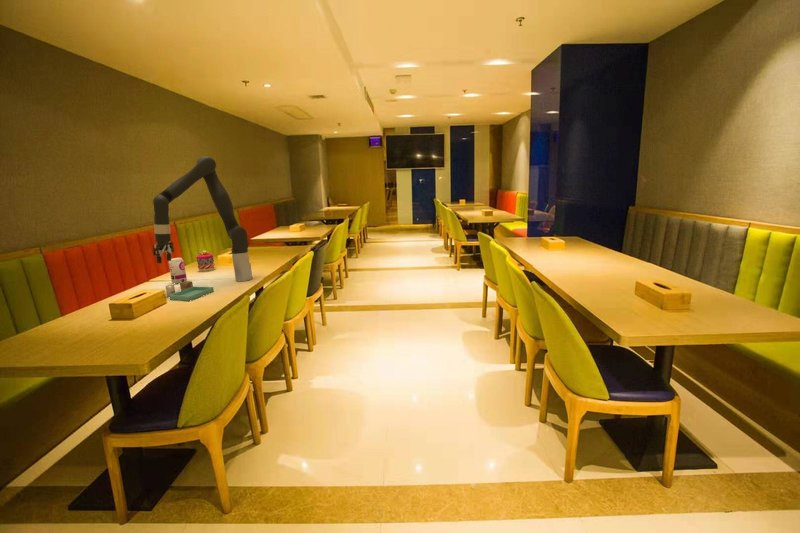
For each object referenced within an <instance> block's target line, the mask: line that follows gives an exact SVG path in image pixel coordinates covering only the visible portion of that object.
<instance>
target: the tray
mask: <svg viewBox="0 0 800 533" xmlns="http://www.w3.org/2000/svg"><path fill="white" fill-rule="evenodd" d="M214 292H215V290H214V287H213V286H212V287H211V286H195V285H193V287H191V288H188V289H185V290H183V291H181V290H180V291H178V292H175V293H174V294H171V295H169V297H170V298H169V300H170V301H177V300H185V301H184V302H191V301H190V300H192V301H194V300H196V298H197V299H199V298H198V297H200V298H201V296H202V297H204V296H203V295H205V296H207V295H209V293H210V294H211V293H214ZM206 294H207V295H206ZM193 299H194V300H193Z"/></svg>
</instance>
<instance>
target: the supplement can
mask: <svg viewBox="0 0 800 533" xmlns="http://www.w3.org/2000/svg"><path fill="white" fill-rule="evenodd" d="M167 262H168V267H169V273H170V277H171V278H170V279H171V283H172V284H173V283H175V284H174V285H178V284H177V283H182V282H185V281H188V278H187V273H186V267H185V260H184V259H183V257H174V258H173V257H171V261H167Z"/></svg>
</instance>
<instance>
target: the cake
mask: <svg viewBox="0 0 800 533" xmlns="http://www.w3.org/2000/svg"><path fill="white" fill-rule="evenodd" d="M195 258H196V262H197V268H198V272H199V273H209V272H213V271H215V263H214V261H215V260H214V256H213V253H211V251H208V250H207V248H204V249H202V248H199V250H198V254H197V255H196V256H195Z"/></svg>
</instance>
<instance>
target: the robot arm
mask: <svg viewBox="0 0 800 533" xmlns="http://www.w3.org/2000/svg"><path fill="white" fill-rule="evenodd" d="M216 168H217V162H216V161H215V159H214V158H212V157H210V156H207V155H204V156H200V157H199V158H198V159H197V161H196V164H195V165H194V166H193V167H192V168H191V169H190V170H189V171H188V172H186V173H185V174H183V175H182V176H180V177H179V178H177V179H176V180H175V181H173V182H172V183H171V184H170V185H169V186H167V187H166V188H165V189H164V190H163V191H161V192H160V193H158V194H157V195H156V196H154V198H153V200H152V203H153V204H152V205H153V211H154V216H153V221H154V227H153V229H154V241H155V242H156V244H152V252H153V254H152V255H153V256H155V257H156V263H157V264H162V260H163V259H162V255H163V254H164V252H165V253H166V261H167V262H169V261H171V259H172V254H173V253H174V252H175V250H174V249H175V248H174V242H173V241H172V236H171V225H170V216H169V209H170V208H169V206H170V205H169V204H170V203H172V202H173V201H174V200H176V199H177V198H179V197H180V196H181V195H183V194H184V193H185V192H187V191H188V190H189V189H190V188H191V187H193V185H195V184H196V183H197V182H198V181H199V180H201V179H202V178H203V180H204V182H205V185H206V187H207V189H208V192H209V194H210V198H211V200H212V201H213V204H214V206H215V209H216V210H217V213H218V214H219V216H220V218H221V221H222V222H223V225H224V228H225V230H226V233H227V236H228V239H230V240H231V243H232V244H231V246H232V247H231V248H230V251H231V256H232V263H233V264H232V266H233V270H234V278H235V281H236V282H246V281H251V280H252V279H253V272H252V264H251V263H250V256H249V240H248V239H249V238H248V233H247V230H246V229H245V228H244V227H243V226H240V225H239V223H238V221H237V219H236V217H235V212H234V211H235V210H234V207H233V203H232V199H231V197H230V195H229V193H228V191H227V189H226V188H225V186H224V185H223V184H222V182H221V180H220V178H219V176H218V174H217V171H216Z"/></svg>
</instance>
